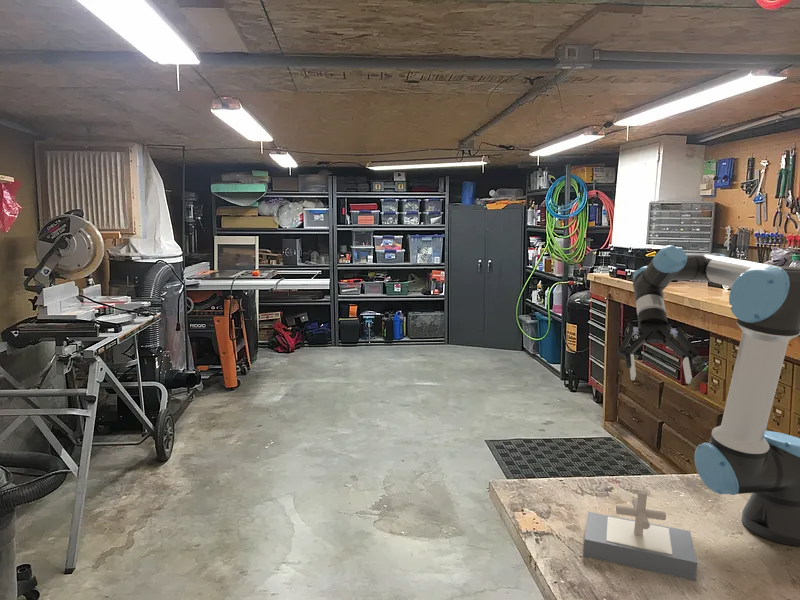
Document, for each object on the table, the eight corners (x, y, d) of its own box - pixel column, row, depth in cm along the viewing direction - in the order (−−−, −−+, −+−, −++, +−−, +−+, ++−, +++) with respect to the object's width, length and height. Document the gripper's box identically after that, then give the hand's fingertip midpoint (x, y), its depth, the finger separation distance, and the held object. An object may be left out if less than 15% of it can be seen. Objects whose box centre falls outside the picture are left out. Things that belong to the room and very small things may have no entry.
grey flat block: (688, 547, 125) (690, 530, 125) (695, 580, 114) (697, 561, 113) (587, 527, 134) (588, 510, 133) (583, 556, 122) (584, 538, 121)
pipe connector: (668, 550, 117) (673, 506, 116) (618, 543, 119) (622, 500, 118) (657, 525, 127) (661, 484, 125) (611, 518, 129) (615, 478, 127)
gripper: (695, 324, 158) (708, 389, 145) (603, 320, 163) (608, 383, 150) (702, 308, 152) (717, 375, 140) (607, 304, 157) (613, 368, 145)
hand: (661, 379), depth 145 cm, fingers open, 13 cm apart
